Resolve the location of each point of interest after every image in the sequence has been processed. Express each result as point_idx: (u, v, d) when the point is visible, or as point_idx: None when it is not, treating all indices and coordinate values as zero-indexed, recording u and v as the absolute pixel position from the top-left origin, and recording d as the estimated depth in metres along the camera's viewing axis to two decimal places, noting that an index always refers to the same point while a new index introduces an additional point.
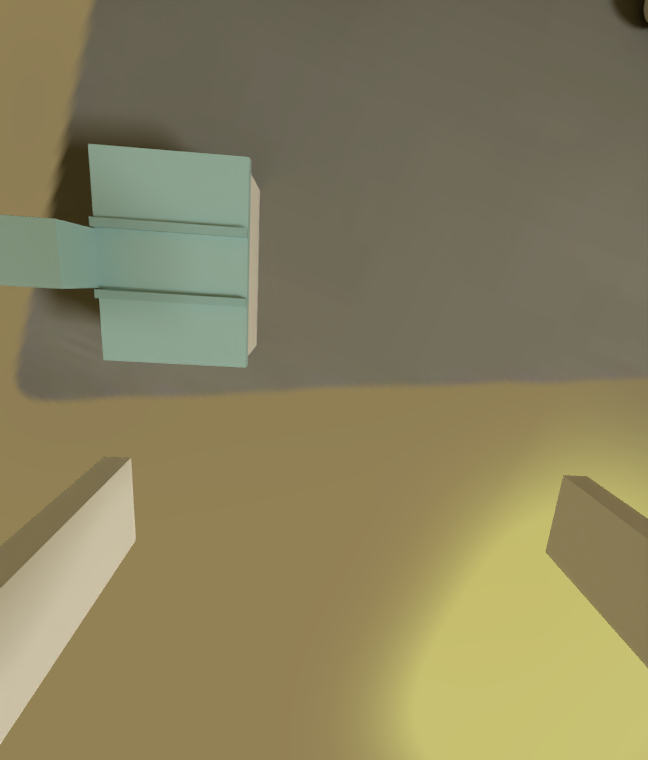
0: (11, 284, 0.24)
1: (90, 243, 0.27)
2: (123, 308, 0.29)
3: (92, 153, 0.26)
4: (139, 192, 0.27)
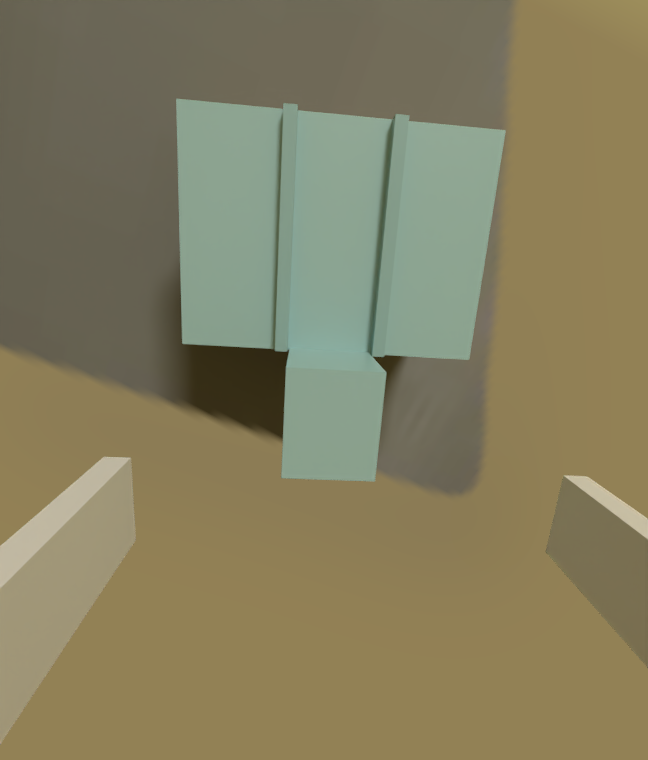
0: (377, 440, 0.16)
1: (311, 351, 0.19)
2: (398, 323, 0.20)
3: (193, 338, 0.19)
4: (239, 280, 0.19)
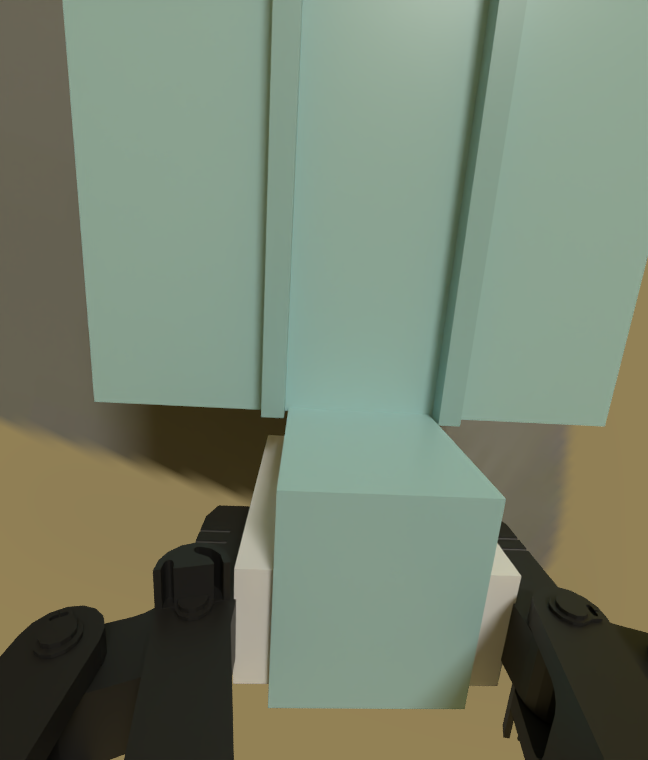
0: (475, 634, 0.08)
1: (328, 419, 0.10)
2: (484, 363, 0.11)
3: (115, 392, 0.11)
4: (194, 288, 0.10)
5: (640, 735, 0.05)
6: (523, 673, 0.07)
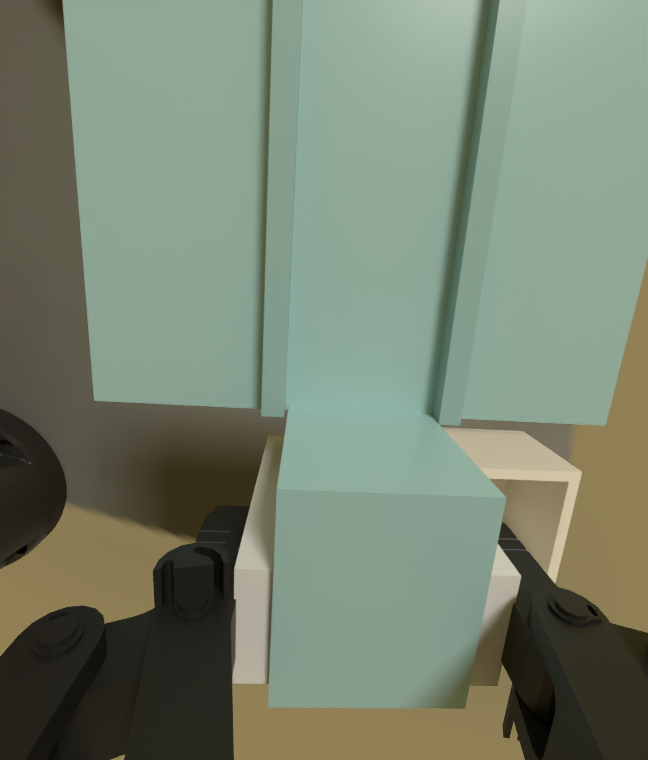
0: (476, 632, 0.08)
1: (328, 418, 0.10)
2: (484, 363, 0.11)
3: (114, 391, 0.11)
4: (194, 286, 0.10)
5: (640, 735, 0.05)
6: (523, 673, 0.07)
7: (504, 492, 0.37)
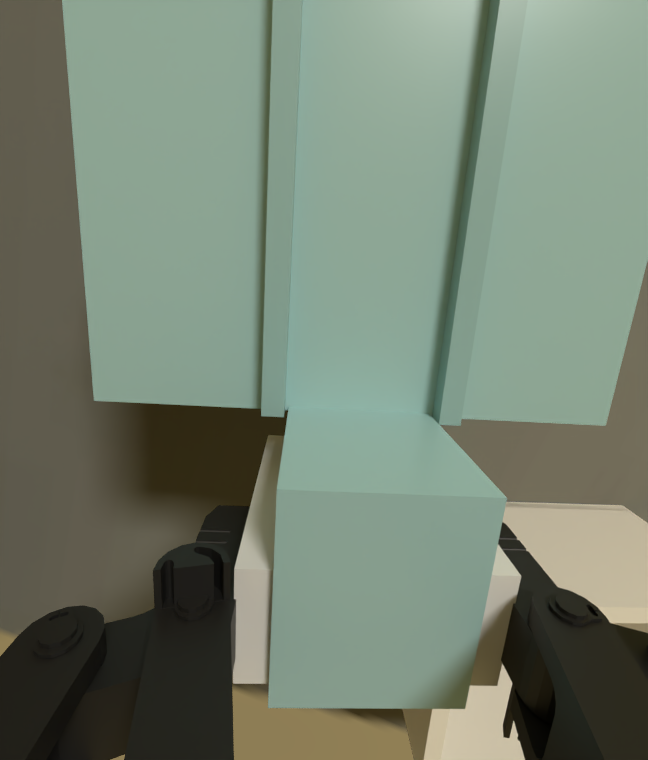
0: (476, 633, 0.08)
1: (328, 418, 0.10)
2: (484, 363, 0.11)
3: (114, 391, 0.11)
4: (194, 286, 0.10)
5: (640, 735, 0.05)
6: (523, 673, 0.07)
7: None
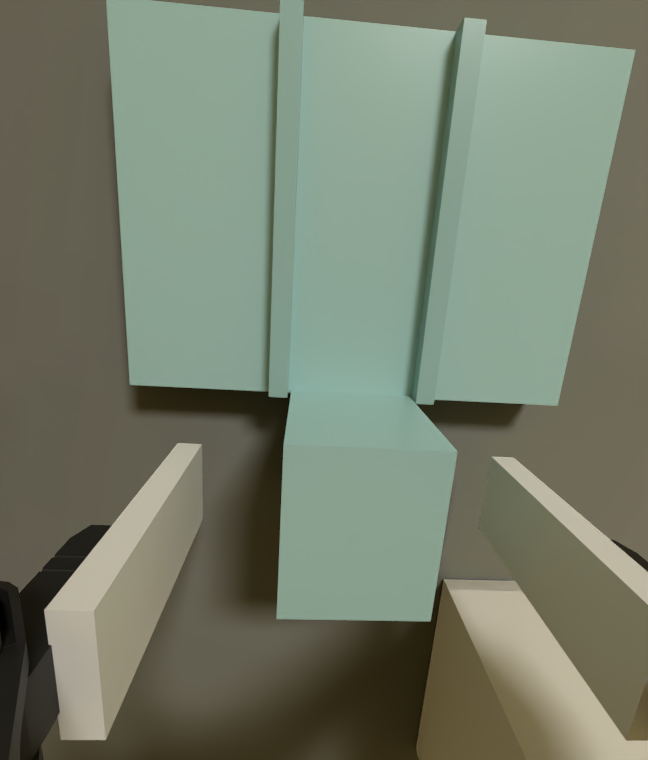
0: (438, 559, 0.10)
1: (324, 398, 0.12)
2: (454, 353, 0.13)
3: (146, 377, 0.13)
4: (213, 290, 0.12)
5: None
6: None
7: None
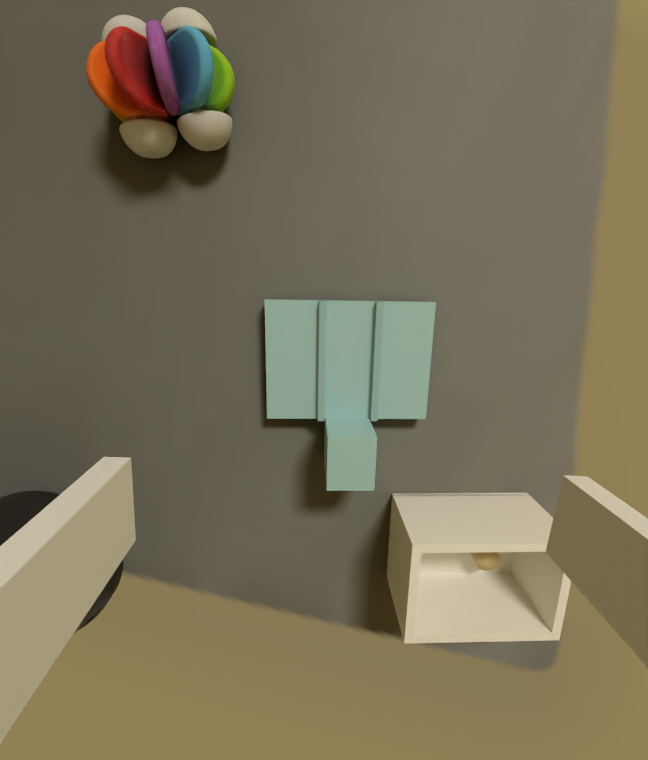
0: (374, 469, 0.32)
1: (337, 420, 0.35)
2: (384, 401, 0.36)
3: (273, 415, 0.36)
4: (297, 384, 0.35)
5: None
6: None
7: None
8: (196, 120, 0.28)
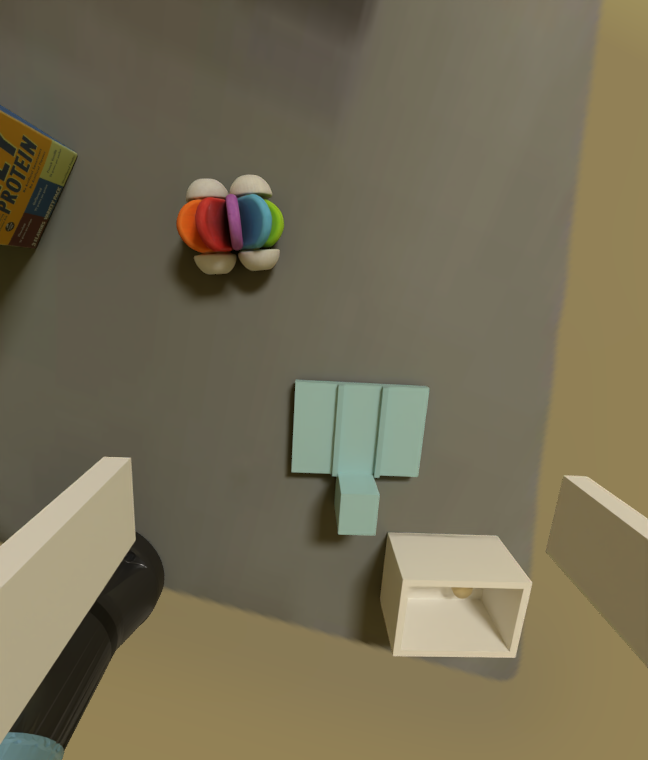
0: (376, 519, 0.41)
1: (347, 476, 0.44)
2: (385, 462, 0.45)
3: (296, 470, 0.44)
4: (317, 446, 0.44)
5: None
6: None
7: None
8: (254, 256, 0.37)
